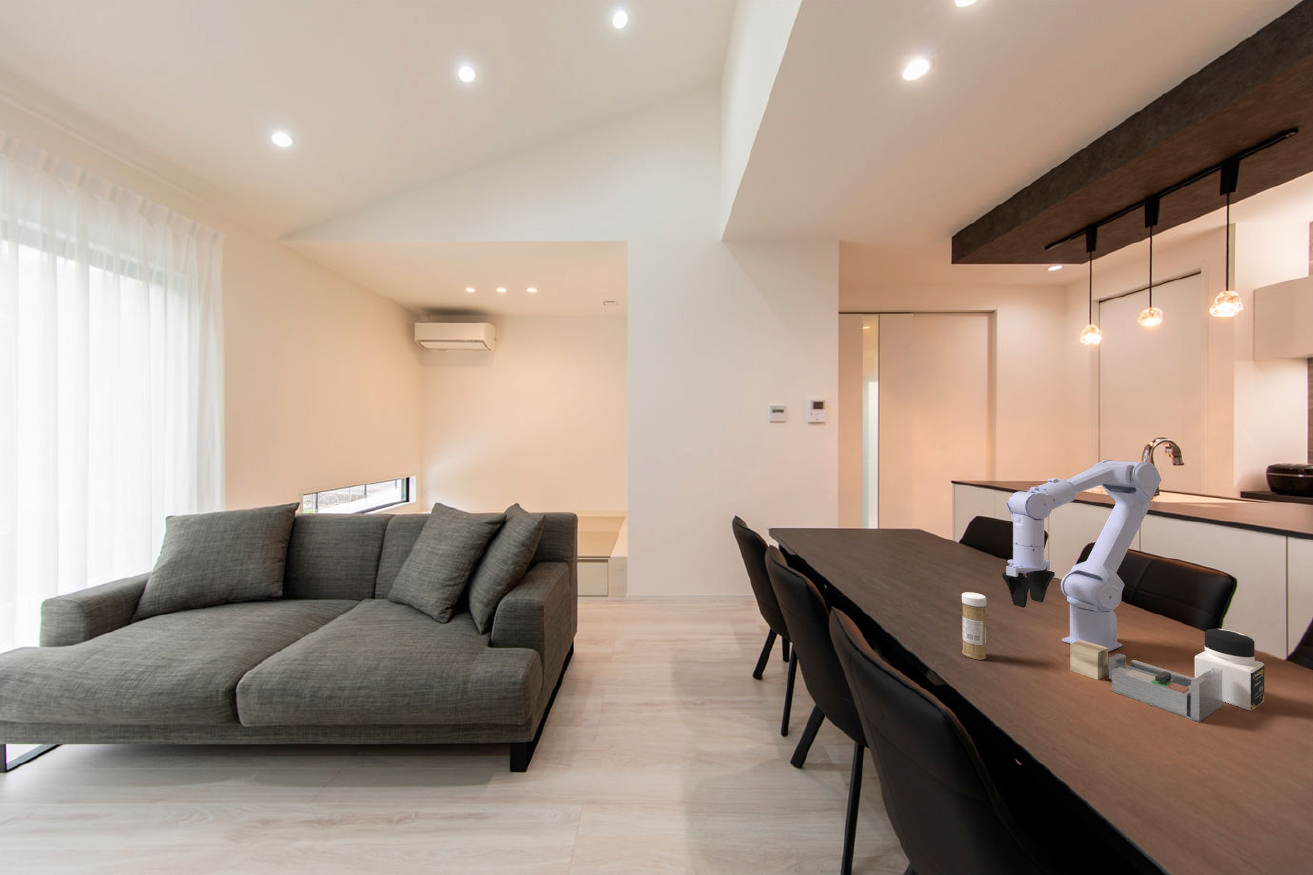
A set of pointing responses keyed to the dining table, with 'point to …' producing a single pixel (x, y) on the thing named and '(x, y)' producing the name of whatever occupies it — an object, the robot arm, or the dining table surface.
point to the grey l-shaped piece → (1120, 661)
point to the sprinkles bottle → (974, 625)
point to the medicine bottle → (1233, 667)
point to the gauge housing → (1171, 690)
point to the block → (1089, 659)
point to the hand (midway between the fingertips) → (1028, 603)
